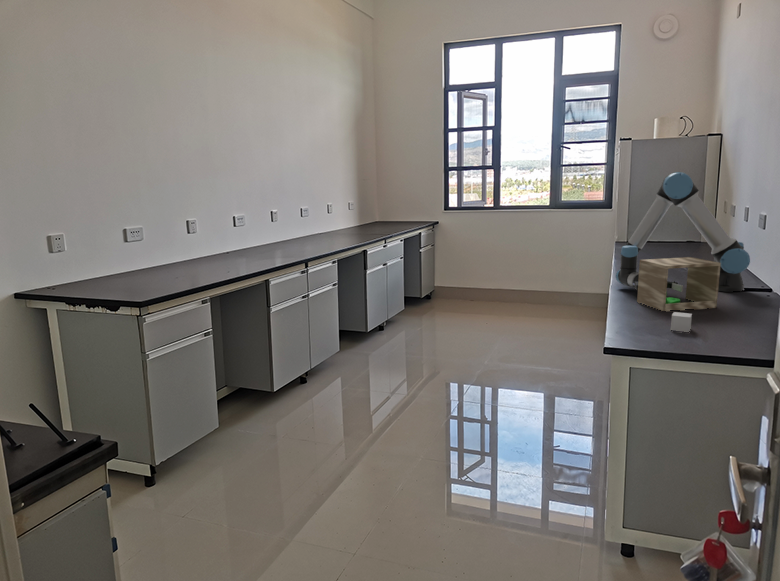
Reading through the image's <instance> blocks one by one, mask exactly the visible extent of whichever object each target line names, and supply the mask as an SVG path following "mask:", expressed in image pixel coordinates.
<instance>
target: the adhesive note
mask: <svg viewBox="0 0 780 581" xmlns="http://www.w3.org/2000/svg"><path fill="white" fill-rule="evenodd" d="M692 315H693V313H687V312H678V311H673V313H672V314H671V320H670V331H671V330H676V331H684V332H689V331H690V332H691V330H692V328H691V327H692V318H693V316H692ZM690 329H691V330H690ZM690 332H689V333H690Z"/></svg>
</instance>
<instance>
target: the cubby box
mask: <svg viewBox="0 0 780 581" xmlns="http://www.w3.org/2000/svg"><path fill="white" fill-rule="evenodd" d="M720 265H721V263H719V262H714V260H713V261H712V260H707V259H702V258H697V257H693V256H692V257H691V256H686V257H685V256H684V257H683V256H682V257H671V258H670V257H669V258H667V257H666V258H651V259H649V258H647V259H639V265H638V273H639V280H638V291H637V297H636V303H637V302H638V304H640V303H642V304H641V305H643V304H645V305H647V306H646V307H648V306H650V307H649V308H651V307H653V308H652V309H654V308H656V309H655V310H657V309H658V310H657V311H659V310H661V311H660V312H662V311H666V312H671V311H670V310H680V311H686V310H685V309H694V310H705V309H706V310H707V308H709V309H716V308H717V305H718V297H719V291H718V286H719V275H720ZM685 268H687V278H686V288H685V300H686V299H688V300H687V301H688V302H680V303H671V304H666V298H667V295H666V292H667V293H668V291H667V289H668V288H667V281H668V276H669V269H672V270H673V269H685ZM689 300H691V301H690V302H689ZM693 301H694V302H693ZM645 305H644V306H645Z"/></svg>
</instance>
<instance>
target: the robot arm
mask: <svg viewBox="0 0 780 581" xmlns="http://www.w3.org/2000/svg"><path fill="white" fill-rule="evenodd" d="M692 179H693V178H692V177H691V176H690V175H689V174H687V173H686V172H682V171H675V172H672V173H670V174H669V173H668V175H666V176H665V177H664V178H663V180H662V182H661V185H660V187H659V189H658V190H657V192H656V194H655V196H656V198H655V199H654V200H653V203H652V204H651V206H650V207H649V208H648V210H647V212H646V214H645V215H644V216H643V218H642V219H641V221H640V222H639V224H638V226H637V227H636V228H635V230H634V232H633V233H632V235H631V236H630V238H629V239H628V241H627V243H626V244H625V245H623V246H621V251H620V267H619V270H617V272H616V273H615V279H616V281H617V282H618V283H619V284H622V285H623V286H627V287H630V288H634V290H636V291H637V292H638V280H639V271H637V270H638V255H639V254H640V252H641V251H642V249H643V248H644V246H645V245H646V243H647V242H648V241H649V239H650V238H651V236H652V234H653V233H654V231H655V230H656V228H657V227H658V225H659V224H660V223H661V221H662V220H663V218H664V216H665V215H666V213H667V212H668V210H669V209H670V207H671V206H672V205H674V206H675V207H679V208H680V209H681V210H683V213H684V214H685V215H686V216H687V217H688V219H689V221H691V223H692V225H693V226H694V227H695V229H697V231H698V232H699V233H700V235H701V237H703V239H704V240H705V241H706V243H707V244H708V246H709V247H710V248H711V250H710V251H711V252H710V254H711V256H712V257H713V261H714V262H719V263H721V265H720V275H719V286H718V292H724V293H725V292H727V293H734V292H733V291H740V292H743V291H744V290H745V285H744V282H743V278H742V273H743V272H744V271H746V270H747V268H749V265H750V263H751V257H750V254H749V253H748V252H747V251H746V250H745V247H744V245H745V244H744V242H741V241H738V240H737V239H736V238H734V237H733V238H731V237H730V236H729V235H728V233H727V232H726V231H725V229H724V228H723V227H722V225H721V224H720V223H719V221H718V219H716V217H715V216H714V215H713V213H712V212H711V211H710V209H709V208H708V207H707V205H706V204H705V203H704V201H703V200H702V199H701V198H700V196H699V193H700V190H699V189H698V187H697V186H696V185H695V184H694V182H693V180H692ZM667 289H671V290H674V291H676V292H677V291H678V292H680V293H683V292H684V285H683V284H680V283H679V284H678V282H677V281H675V280H674V281H669V280H667ZM743 289H744V290H743ZM742 290H743V291H742Z"/></svg>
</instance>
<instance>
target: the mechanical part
mask: <svg viewBox="0 0 780 581" xmlns="http://www.w3.org/2000/svg"><path fill="white" fill-rule="evenodd" d="M667 294H668V291H667V292H666V296H668V295H667ZM671 303H681V299H680V298H679V297H670V296H669V297H666V304H671Z"/></svg>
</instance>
